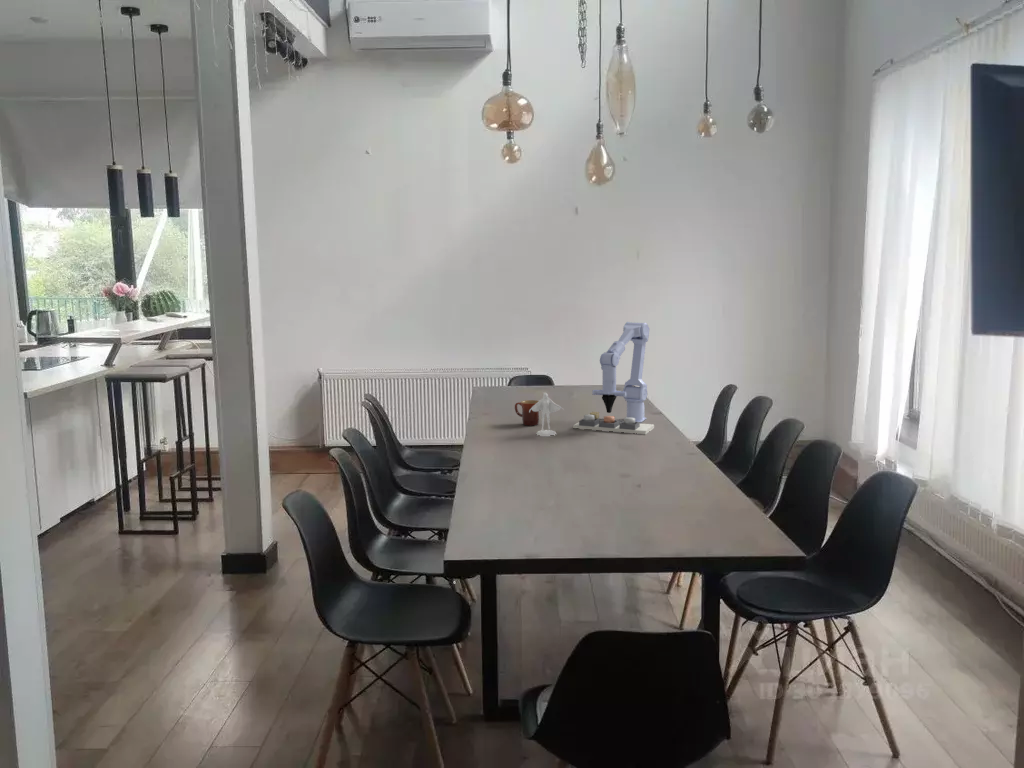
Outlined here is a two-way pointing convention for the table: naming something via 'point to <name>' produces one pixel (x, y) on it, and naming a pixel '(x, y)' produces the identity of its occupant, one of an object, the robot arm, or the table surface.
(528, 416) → the mug
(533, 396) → the table surface
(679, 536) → the table surface
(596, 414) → the brass slider
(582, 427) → the panel
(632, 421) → the grey button
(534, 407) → the figurine
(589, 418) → the grey button
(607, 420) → the terracotta button
